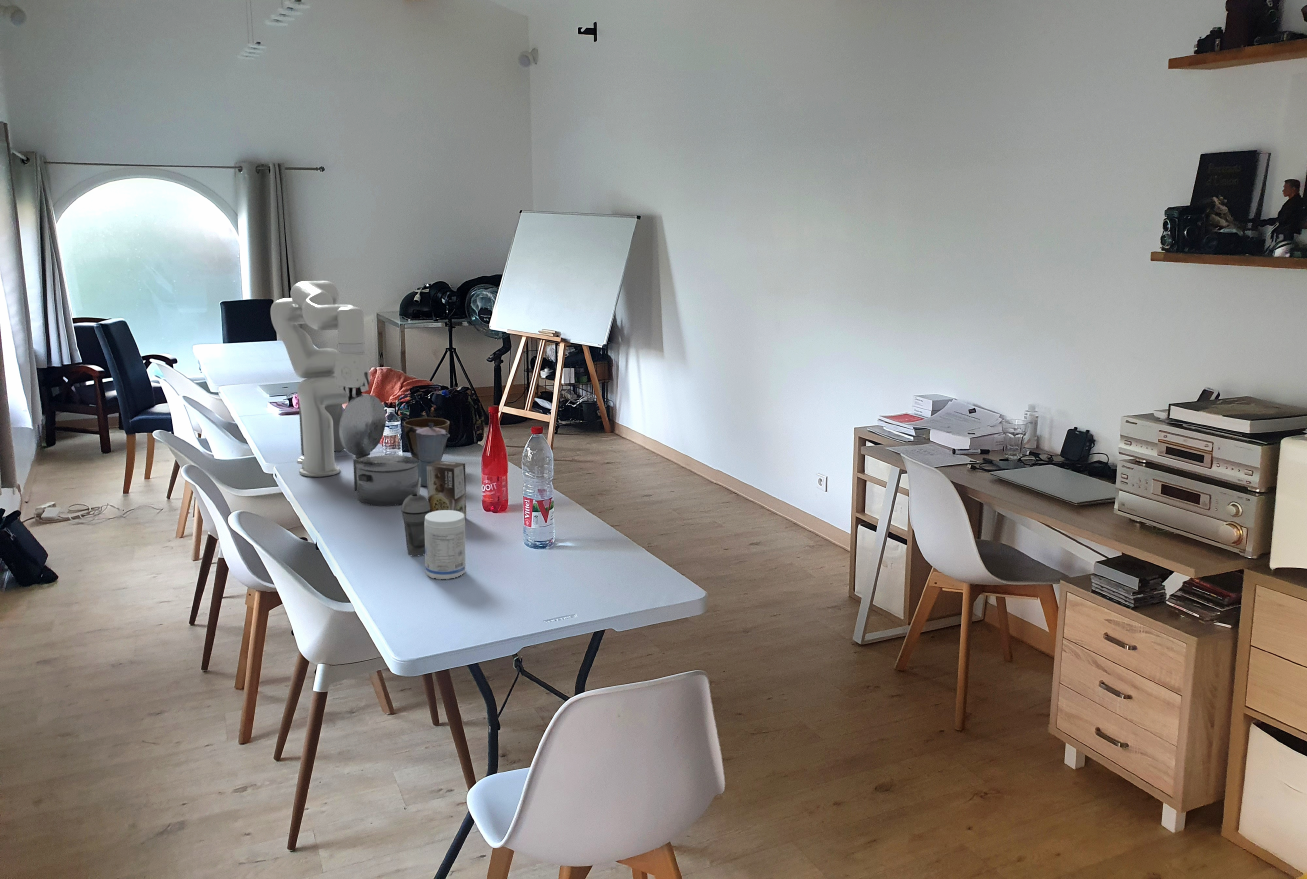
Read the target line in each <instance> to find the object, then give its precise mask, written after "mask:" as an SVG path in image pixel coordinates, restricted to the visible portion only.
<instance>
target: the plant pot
mask: <svg viewBox="0 0 1307 879" xmlns="http://www.w3.org/2000/svg"><path fill="white" fill-rule="evenodd" d="M429 423H434V424H433V428H439V429H443V430H445V431H446V432H447V433H448V434H449V428H450V421H449V420H447V419H444V418H438V417H437V418H436V417H418V418H412V419H411V418H410V419H407V420H405V421H404V422H403V426H404V432H405V434H406V431H407V430H408V429H409V428H410V426H412V427H415V428H420V429H422V428H429ZM409 436H410V438H411V443H412V448H413V450H414V452H416V453H418V449H417V439H416V434H415V433H413V432H410V433H409ZM447 440H448V439H447ZM447 440H446V442H445V444H444V446H443V453H442V459H443V456H444V453H445V450H446V445H447ZM406 441H407V440H406ZM407 445H408V449H409V452H410V448H409V444H408V441H407ZM410 455H411V456H410V457H413V458H416V459H417V460H418V461H419V454H418V455H417V456H415V455H412V454H411V452H410ZM442 459H441V461H443V460H442Z"/></svg>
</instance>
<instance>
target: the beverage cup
mask: <svg viewBox="0 0 1307 879" xmlns="http://www.w3.org/2000/svg"><path fill="white" fill-rule="evenodd" d="M420 493H421V477H419V484H418V494H412V495H410V496H408V497H407V498H406V499H405V500H404V502H403V504H402V505H401V510H400V511H401V514H402V519H403V525H404V533H405V539H406V540H405V541H406V548H407V554H408V556H410V555H412V556H411V557H419V556H418V555H422V556H424V555H423V554H425V526H424V524H425V523H424V522H425V516H426V515H427V514H428V513H430V511H431V508H430V504H429V501H428V498H426V496H424V495H423V494H420Z"/></svg>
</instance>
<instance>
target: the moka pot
mask: <svg viewBox="0 0 1307 879" xmlns="http://www.w3.org/2000/svg"><path fill="white" fill-rule="evenodd" d="M433 424H434V423H429V428H422V429H420V428H415V427H412V426H410V428H409V429H408V430H407V431H406V433H405V438H406V441H408V442H407V445H408V444H409V446H408V449H409V448H410V450H409V452H411V453H410V455H411V454H412V455H415V456H417V455H418V454H419V464H418V476H419V477H421V485H420V487H421V486H422V487H428V486H427V465H430V464H432V463H434V462H436V461H442V460H441V459H443V457H442V453H443V446H444V444H445V442H446V443H447V441H446V440H448V438H449V437H450V434H449V432H448V433H447V432H446V431H445V430H443V429H439V428H433ZM410 432H413V433H415V434H416V439H417V449H418V453H416V452H414V450H413V448H412V443H411V438H410V436H409V433H410ZM443 454H444V453H443Z"/></svg>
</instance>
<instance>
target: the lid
mask: <svg viewBox="0 0 1307 879" xmlns="http://www.w3.org/2000/svg"><path fill="white" fill-rule="evenodd" d="M386 417H387V416H386V411H385V408H384V405H383V403H382V402H381V400H380V399H379V398H378V397H376V396H375V395H372V394H368V393H362V394H361V395H358V396H356V397H354V398H353V399H352V400H351V401H350V402H349V403H346V406H344V409H343V413H342V415H341V419H340V424H339V437H340V441H341V444H342V446H343V447H344V451H346V452H347V453H348V454H350V455H354V456H355V457H354V459H359V458H363V457H366V456H368V457H370V455H371V453H372V452H373V451H374V450H376V448H377V446H378V445H379V444H380V442H381V440H382V438H383V436H384V432H385V429H386V422H387V420H386V419H387V418H386Z"/></svg>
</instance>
